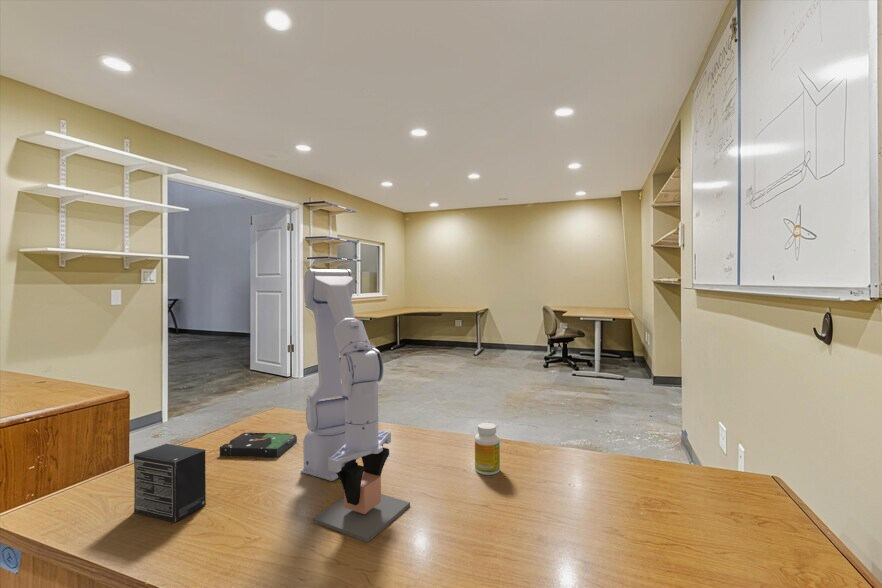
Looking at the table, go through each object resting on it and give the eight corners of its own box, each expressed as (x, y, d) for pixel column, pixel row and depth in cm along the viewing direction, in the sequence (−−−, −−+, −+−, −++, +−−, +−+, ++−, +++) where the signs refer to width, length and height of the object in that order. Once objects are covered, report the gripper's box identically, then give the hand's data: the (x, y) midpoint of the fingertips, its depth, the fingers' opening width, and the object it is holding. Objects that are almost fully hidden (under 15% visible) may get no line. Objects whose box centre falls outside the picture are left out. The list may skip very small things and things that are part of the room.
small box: (209, 504, 74) (208, 448, 74) (175, 524, 68) (174, 462, 67) (167, 495, 77) (167, 441, 77) (132, 513, 71) (131, 454, 71)
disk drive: (218, 459, 95) (278, 459, 94) (218, 447, 95) (278, 448, 94) (243, 442, 106) (297, 443, 104) (243, 432, 106) (297, 432, 104)
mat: (312, 521, 68) (312, 518, 68) (358, 490, 78) (358, 487, 78) (367, 542, 62) (367, 538, 62) (410, 505, 72) (410, 502, 72)
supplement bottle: (499, 476, 83) (498, 430, 83) (473, 474, 85) (473, 429, 84) (500, 465, 89) (500, 422, 89) (476, 463, 90) (476, 420, 90)
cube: (344, 507, 69) (344, 481, 69) (361, 495, 73) (361, 471, 73) (364, 514, 67) (364, 487, 67) (381, 501, 71) (380, 476, 71)
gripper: (351, 436, 62) (352, 523, 62) (403, 411, 74) (404, 483, 75) (318, 429, 65) (319, 512, 65) (373, 406, 78) (374, 475, 78)
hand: (362, 496), depth 70 cm, fingers closed on cube, 4 cm apart
